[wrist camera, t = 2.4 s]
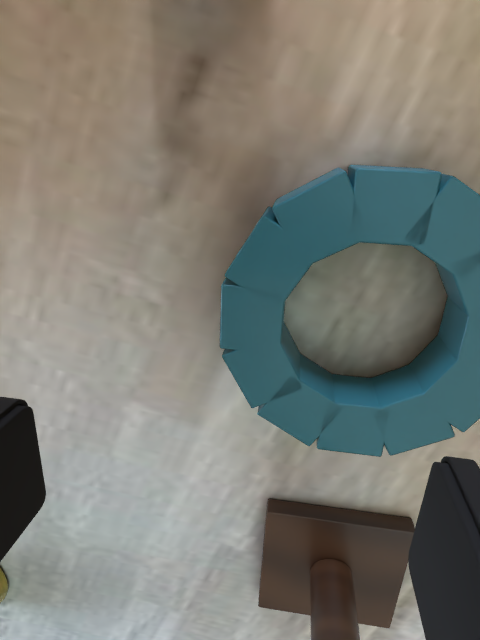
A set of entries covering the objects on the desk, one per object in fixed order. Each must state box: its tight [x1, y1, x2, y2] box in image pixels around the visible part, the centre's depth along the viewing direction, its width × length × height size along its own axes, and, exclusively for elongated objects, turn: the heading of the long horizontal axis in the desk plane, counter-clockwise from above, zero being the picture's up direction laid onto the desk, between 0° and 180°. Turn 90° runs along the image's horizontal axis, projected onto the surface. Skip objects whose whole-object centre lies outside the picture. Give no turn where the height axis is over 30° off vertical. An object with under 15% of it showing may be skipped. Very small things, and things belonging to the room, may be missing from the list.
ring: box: [220, 165, 480, 457], centre depth 18 cm, size 12×12×3 cm
